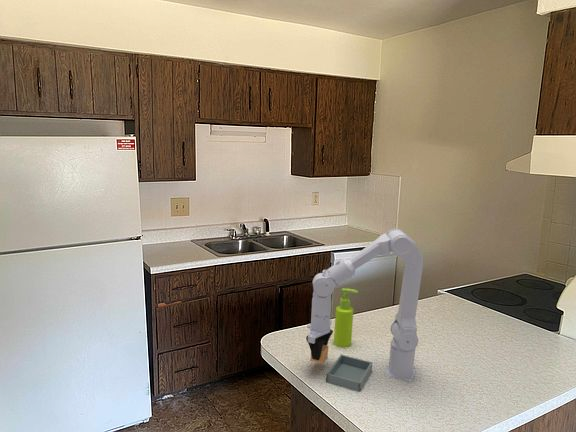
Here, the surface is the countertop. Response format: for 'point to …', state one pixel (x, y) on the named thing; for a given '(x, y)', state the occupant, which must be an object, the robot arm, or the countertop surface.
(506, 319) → the countertop surface
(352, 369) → the bin
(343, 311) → the soap dispenser
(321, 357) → the letter cube
